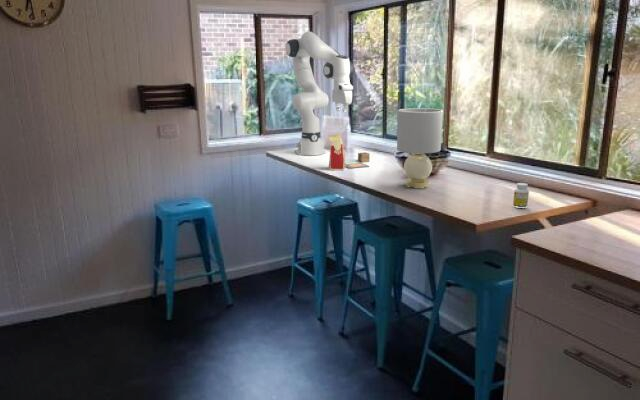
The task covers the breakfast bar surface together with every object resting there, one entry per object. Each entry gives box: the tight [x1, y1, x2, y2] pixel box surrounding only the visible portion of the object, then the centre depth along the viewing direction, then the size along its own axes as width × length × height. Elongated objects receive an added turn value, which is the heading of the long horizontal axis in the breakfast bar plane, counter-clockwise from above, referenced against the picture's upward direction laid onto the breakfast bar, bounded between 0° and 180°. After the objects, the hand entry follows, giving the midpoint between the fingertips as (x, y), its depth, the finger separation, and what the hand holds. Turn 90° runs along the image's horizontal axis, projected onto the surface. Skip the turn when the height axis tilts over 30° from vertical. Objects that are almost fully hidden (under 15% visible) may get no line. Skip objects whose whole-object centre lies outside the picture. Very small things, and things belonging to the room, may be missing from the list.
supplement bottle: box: [512, 182, 530, 207], centre depth 201 cm, size 5×5×10 cm
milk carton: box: [328, 132, 346, 171], centre depth 277 cm, size 9×9×20 cm
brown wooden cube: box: [357, 151, 370, 164], centre depth 298 cm, size 5×5×5 cm
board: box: [345, 160, 370, 170], centre depth 288 cm, size 16×12×1 cm
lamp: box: [396, 107, 444, 189], centre depth 234 cm, size 20×20×35 cm
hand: (341, 111), depth 282 cm, fingers open, 8 cm apart
